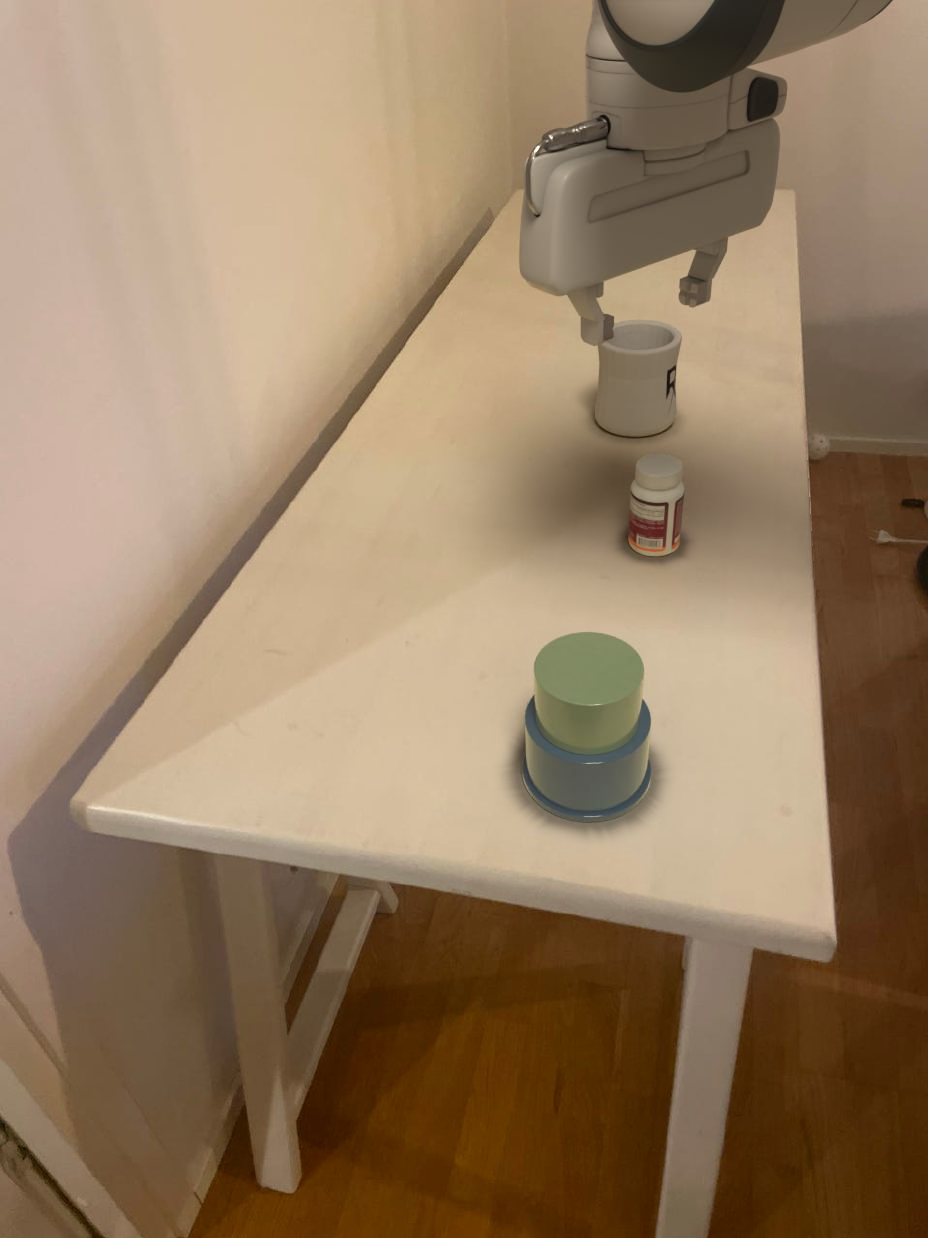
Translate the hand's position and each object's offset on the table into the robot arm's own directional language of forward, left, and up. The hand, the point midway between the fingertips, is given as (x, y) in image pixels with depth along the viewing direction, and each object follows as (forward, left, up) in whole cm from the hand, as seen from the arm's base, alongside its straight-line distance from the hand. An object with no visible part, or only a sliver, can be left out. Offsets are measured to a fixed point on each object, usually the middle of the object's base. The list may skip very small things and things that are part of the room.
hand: (646, 321), depth 66 cm
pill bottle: (0, -8, -25) cm, 26 cm away
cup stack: (-1, +21, -24) cm, 32 cm away
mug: (+7, -33, -25) cm, 42 cm away
